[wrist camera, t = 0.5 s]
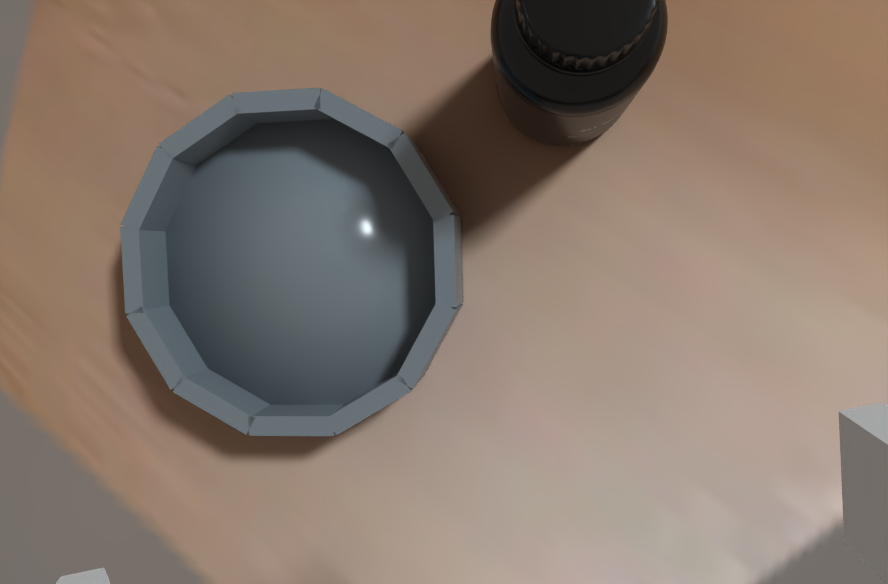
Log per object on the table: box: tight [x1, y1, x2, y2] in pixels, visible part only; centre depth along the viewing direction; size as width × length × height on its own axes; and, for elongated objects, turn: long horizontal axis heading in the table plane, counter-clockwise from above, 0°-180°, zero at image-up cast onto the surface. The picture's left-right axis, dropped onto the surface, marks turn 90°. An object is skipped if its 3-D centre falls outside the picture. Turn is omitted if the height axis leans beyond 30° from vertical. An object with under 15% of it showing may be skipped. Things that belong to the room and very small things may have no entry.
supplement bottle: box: [491, 0, 668, 146], centre depth 28 cm, size 7×7×12 cm
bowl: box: [120, 88, 463, 436], centre depth 35 cm, size 17×17×4 cm
